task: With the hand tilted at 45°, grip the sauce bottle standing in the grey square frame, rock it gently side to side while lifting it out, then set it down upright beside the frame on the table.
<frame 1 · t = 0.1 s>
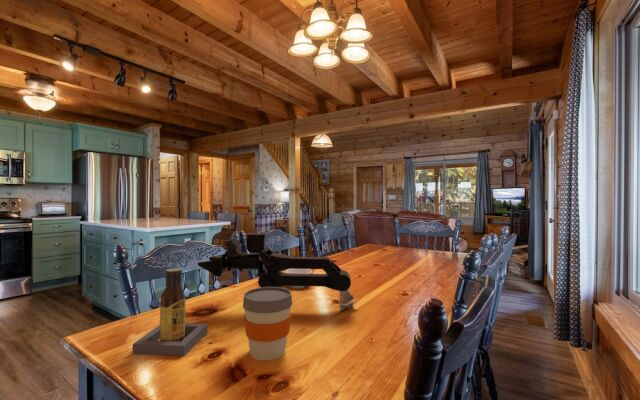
hand: (203, 261, 112), 17 cm above the table, tool horizontal, fingers open, 9 cm apart
reusable coffee cup: (267, 352, 80), on the table
grey square frame: (172, 342, 85), on the table
sauce bottle: (172, 343, 85), resting in grey square frame
food container: (298, 285, 140), on the table
architectural model: (346, 310, 111), on the table
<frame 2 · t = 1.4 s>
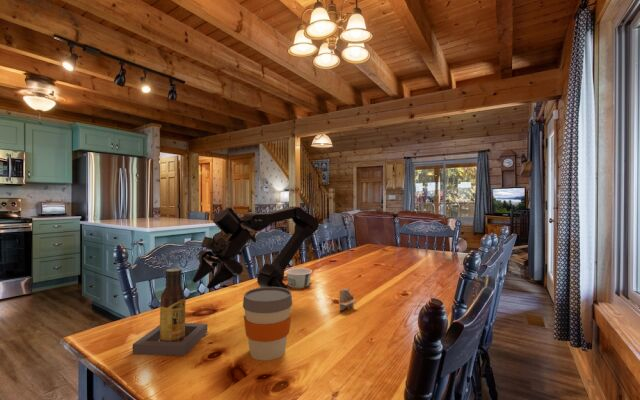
hand: (200, 284, 91), 14 cm above the table, tool tilted 45°, fingers open, 9 cm apart
nothing on the table moved.
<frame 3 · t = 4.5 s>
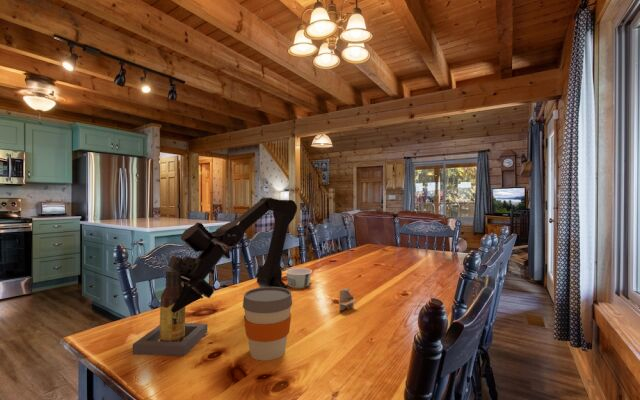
hand: (167, 308, 84), 10 cm above the table, tool tilted 45°, fingers closed on sauce bottle, 6 cm apart
sauce bottle: (172, 343, 85), resting in grey square frame, touching gripper
everything else where it was.
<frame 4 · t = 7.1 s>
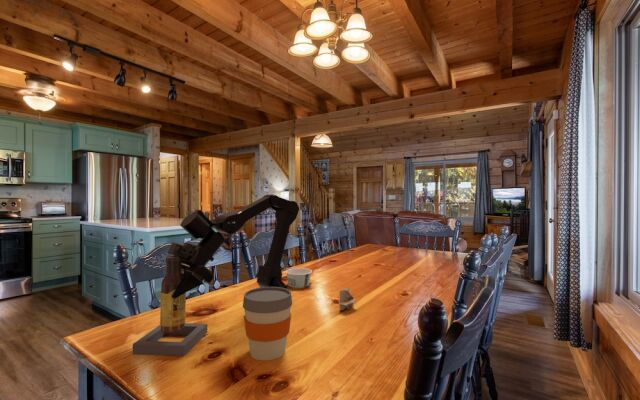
hand: (168, 295, 84), 13 cm above the table, tool tilted 45°, fingers closed on sauce bottle, 6 cm apart
sauce bottle: (173, 329, 85), point 3 cm above the table, touching gripper
everything else where it was.
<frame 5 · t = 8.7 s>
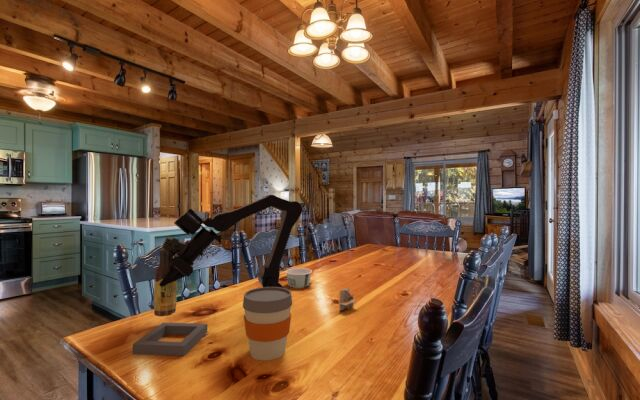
hand: (160, 283, 95), 13 cm above the table, tool tilted 45°, fingers closed on sauce bottle, 6 cm apart
sauce bottle: (165, 314, 96), point 3 cm above the table, touching gripper
everything else where it was.
when the fingers open (11 cm above the table, at t = 10.0 s): sauce bottle drops 1 cm, on the table.
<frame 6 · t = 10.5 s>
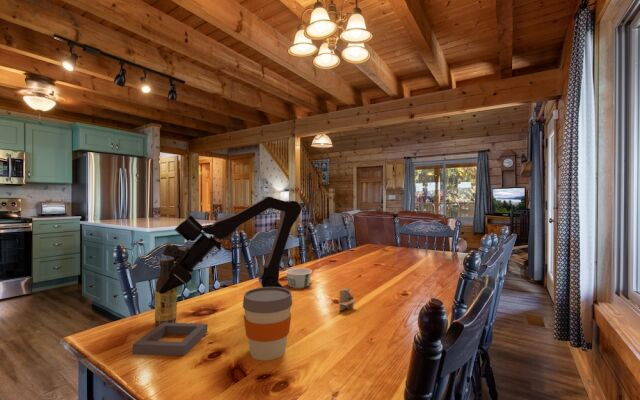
hand: (160, 288, 97), 11 cm above the table, tool tilted 45°, fingers open, 9 cm apart
sauce bottle: (166, 323, 98), on the table
everything else where it was.
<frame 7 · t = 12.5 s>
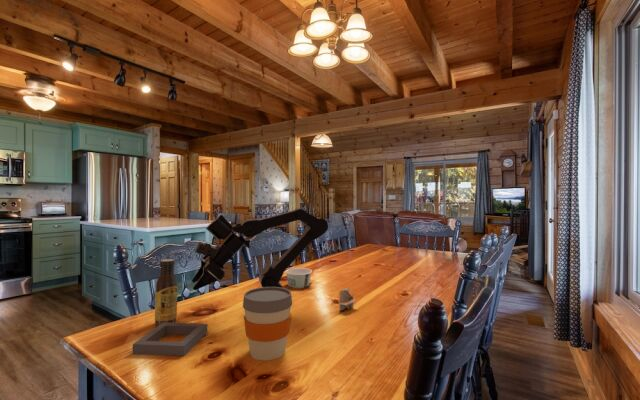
hand: (193, 285, 101), 11 cm above the table, tool tilted 45°, fingers open, 9 cm apart
nothing on the table moved.
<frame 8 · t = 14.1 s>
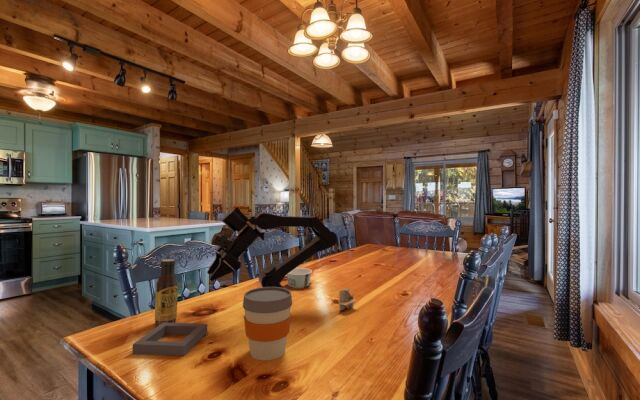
hand: (209, 276, 102), 14 cm above the table, tool tilted 45°, fingers open, 9 cm apart
nothing on the table moved.
at the end: sauce bottle inside the target area (0.2 cm from its centre), on the table; sauce bottle tilted 0°; sauce bottle touching table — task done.
